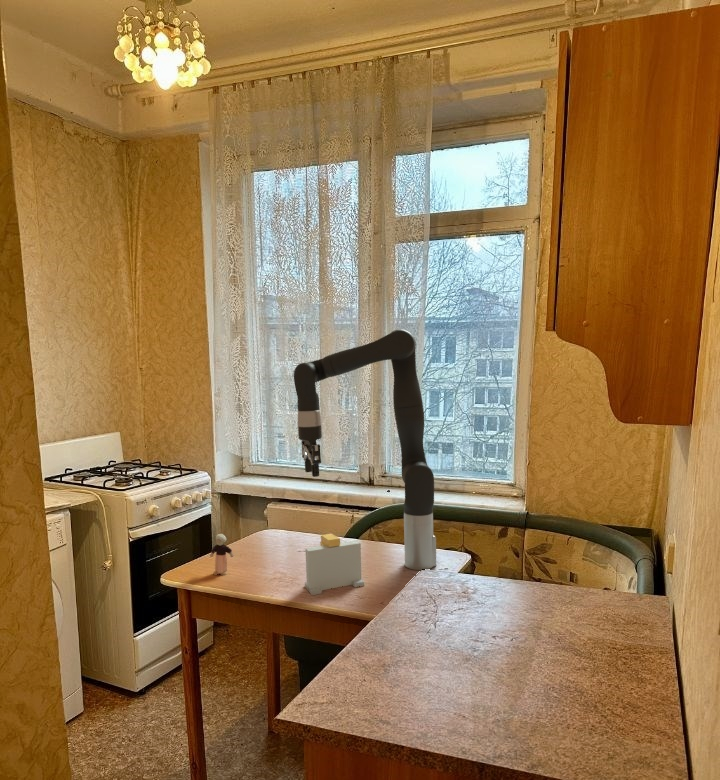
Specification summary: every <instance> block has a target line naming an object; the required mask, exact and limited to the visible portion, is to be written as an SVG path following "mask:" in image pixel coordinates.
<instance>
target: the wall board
mask: <svg viewBox="0 0 720 780" xmlns="http://www.w3.org/2000/svg"><path fill="white" fill-rule="evenodd" d="M343 542H344V543H341V542H340V546H333V547H328V546H327V545H324V546H320V545H317V546H312V547H305V572H306V573H305V574H306V581H305V582H304V587H305V588H306V589H307V591H308V593H310V595H311V596H315V595H321V594H322V592H323V591H325V590H332V589H336V588H341V587H342V586H343V587H348V586H352V587H354V588H360V587H363V586H364V587H365V581H364V580H363V579H362V548H361V547H362V543H361V542H360V541H359V540H352V541H343ZM359 586H360V587H359ZM343 587H342V588H343ZM331 588H332V589H331Z"/></svg>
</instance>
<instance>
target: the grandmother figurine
mask: <svg viewBox="0 0 720 780" xmlns="http://www.w3.org/2000/svg"><path fill="white" fill-rule="evenodd" d="M226 541H227V537H226V536H225V535H224V534H223V533H218V534H216V535H215V542H216V545H214V546H213V547H212V549H211V552H210V555H209V557H210V558H214V559H215V560H214V561H215V564H214V566H215V567H214V571H213V573H212V575H213V574H214V575H213V576H216V575H217V574H218V575H219V574H220V576H226V574H227V575H228V573H229V572H228V558H227V557H228V556H227V554H228V555H229V556H230V558H234V556H235V555H234V553H233V550H232V548H230V547H229V546H228V545H225V542H226ZM214 555H215V557H214ZM218 575H217V576H218Z"/></svg>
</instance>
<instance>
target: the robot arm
mask: <svg viewBox="0 0 720 780" xmlns="http://www.w3.org/2000/svg"><path fill="white" fill-rule="evenodd" d="M416 344H417V343H416V339H415V337H414V335H413V334H412V333H411V332H410V331H408V330H406V329H401V328H400V329H394V330H393V331H391V332H390V333H388V334H386V335H384V336H383V337H380V338H379V339H376V340H374V341H371V342H369V343H367V344H362V345H360V346H356V347H351V348H348V349H344V350H340V351H337V352H335V353H332V354H328V355H326V356H323V358H320V359H316V360H312V361H309V362H301V363H299V364H297V366H296V367H295V368H294V371H293V383H294V384H293V385H294V388H295V392H296V396H297V400H296V401H297V433H298V434H297V435H298V439H299V440H300V441H301V457H302V459H303V461H304V471H305V472H306V473H311V476H312V477H313V478H314V477H315V478H316V477H319V476H320V464H321V463H322V456H321V455H322V453H321V445H320V443H319V444H317V440H320V439H322V437H323V434H322V433H323V432H322V416H321V409H320V398H319V394H318V393H317V386H316V383H317V382H321V381H323V380H326V379H329V378H332V377H333V378H334V377H337V376H340V375H343V374H347V373H350V372H353V371H355V370H358V369H360V368H362V367H367V366H368V365H371V364H374V363H378V362H383V361H388V360H389V361H391V366H392V370H393V371H392V373H393V389H392V391H393V392H392V393H393V394H392V395H393V396H392V399H393V412H394V418H395V419H394V420H395V424H396V430H397V434H398V439H399V444H400V450H401V451H400V453H401V457H400V458H401V477H402V478H401V479H402V481H403V483H404V503H403V530H404V531H403V532H404V533H403V535H404V537H403V539H404V566H405V567H406V568H407V569H411V570H415V571H423V570H422V569H426V570H430V569H431V568H433V567H436V566H437V537H436V535H434V505H435V476H434V473H433V470H432V469H431V467H429V466H428V463H427V458H426V454H425V449H424V448H425V447H424V436H425V435H424V434H425V433H424V432H425V411H424V402H423V398H422V396H423V395H422V391H421V388H420V387H421V386H420V382H419V378H418V374H417V373H418V372H417V366H416V365H417V364H416V362H417V361H416V349H417V348H416V346H417V345H416Z"/></svg>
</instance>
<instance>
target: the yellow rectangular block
mask: <svg viewBox="0 0 720 780" xmlns="http://www.w3.org/2000/svg"><path fill="white" fill-rule="evenodd" d="M319 543H320V544H319V546H324V545H327V546H328V547H333V546H340V543H341V538H340V537H338V536H336V535H335V534H333V533H326V534H320V542H319Z"/></svg>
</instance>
